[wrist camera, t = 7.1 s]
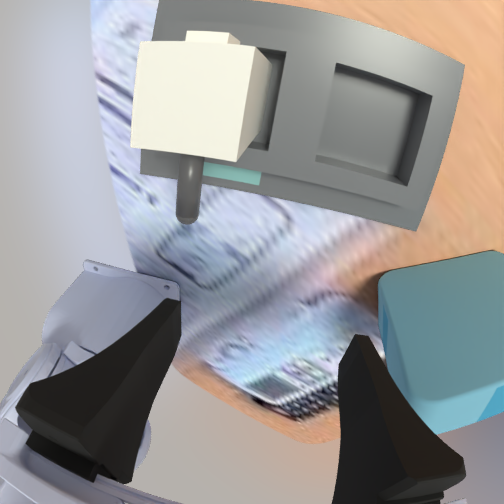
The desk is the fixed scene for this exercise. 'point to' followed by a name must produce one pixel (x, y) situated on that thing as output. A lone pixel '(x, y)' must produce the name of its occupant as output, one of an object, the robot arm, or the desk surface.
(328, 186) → the jack panel
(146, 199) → the desk surface
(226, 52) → the plug
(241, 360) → the desk surface
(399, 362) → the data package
